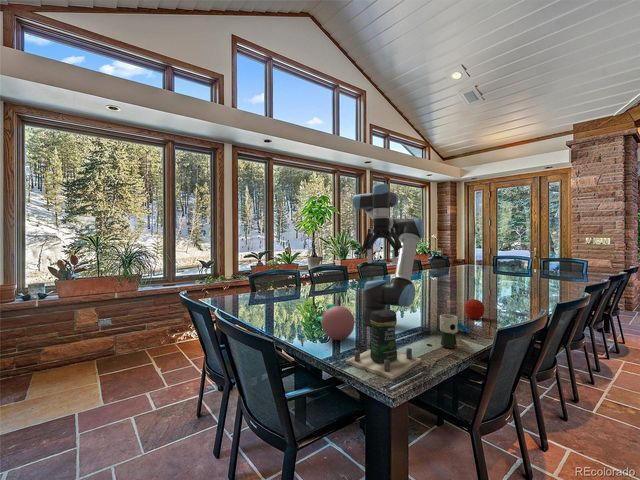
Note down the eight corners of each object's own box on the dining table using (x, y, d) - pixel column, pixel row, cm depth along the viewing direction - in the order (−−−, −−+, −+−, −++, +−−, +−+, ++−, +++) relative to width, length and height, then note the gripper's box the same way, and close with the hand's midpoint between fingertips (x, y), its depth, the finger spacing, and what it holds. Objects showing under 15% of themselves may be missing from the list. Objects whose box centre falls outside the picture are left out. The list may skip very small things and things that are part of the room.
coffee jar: (379, 366, 112) (379, 314, 112) (367, 358, 119) (366, 309, 119) (401, 361, 116) (400, 310, 116) (387, 354, 123) (387, 306, 123)
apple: (488, 320, 173) (488, 299, 173) (469, 320, 173) (469, 300, 173) (479, 316, 183) (479, 296, 183) (461, 316, 183) (461, 296, 183)
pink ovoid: (338, 329, 161) (338, 299, 160) (361, 341, 143) (360, 307, 143) (311, 334, 154) (311, 303, 153) (331, 347, 136) (331, 311, 136)
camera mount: (316, 322, 177) (316, 303, 177) (326, 319, 182) (326, 302, 182) (330, 326, 168) (330, 307, 168) (340, 323, 172) (340, 305, 172)
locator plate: (345, 363, 118) (345, 350, 118) (376, 349, 132) (376, 338, 132) (392, 379, 104) (392, 365, 104) (421, 362, 118) (420, 349, 118)
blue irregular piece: (474, 332, 147) (458, 317, 148) (466, 342, 146) (449, 326, 147) (463, 329, 158) (448, 315, 159) (456, 337, 157) (441, 323, 158)
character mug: (449, 352, 127) (449, 320, 127) (434, 347, 133) (433, 316, 133) (463, 346, 134) (463, 315, 134) (448, 341, 140) (448, 312, 140)
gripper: (354, 219, 152) (355, 263, 152) (400, 216, 134) (401, 265, 134) (364, 219, 157) (364, 262, 157) (409, 216, 140) (410, 264, 140)
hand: (381, 263), depth 146 cm, fingers open, 13 cm apart
